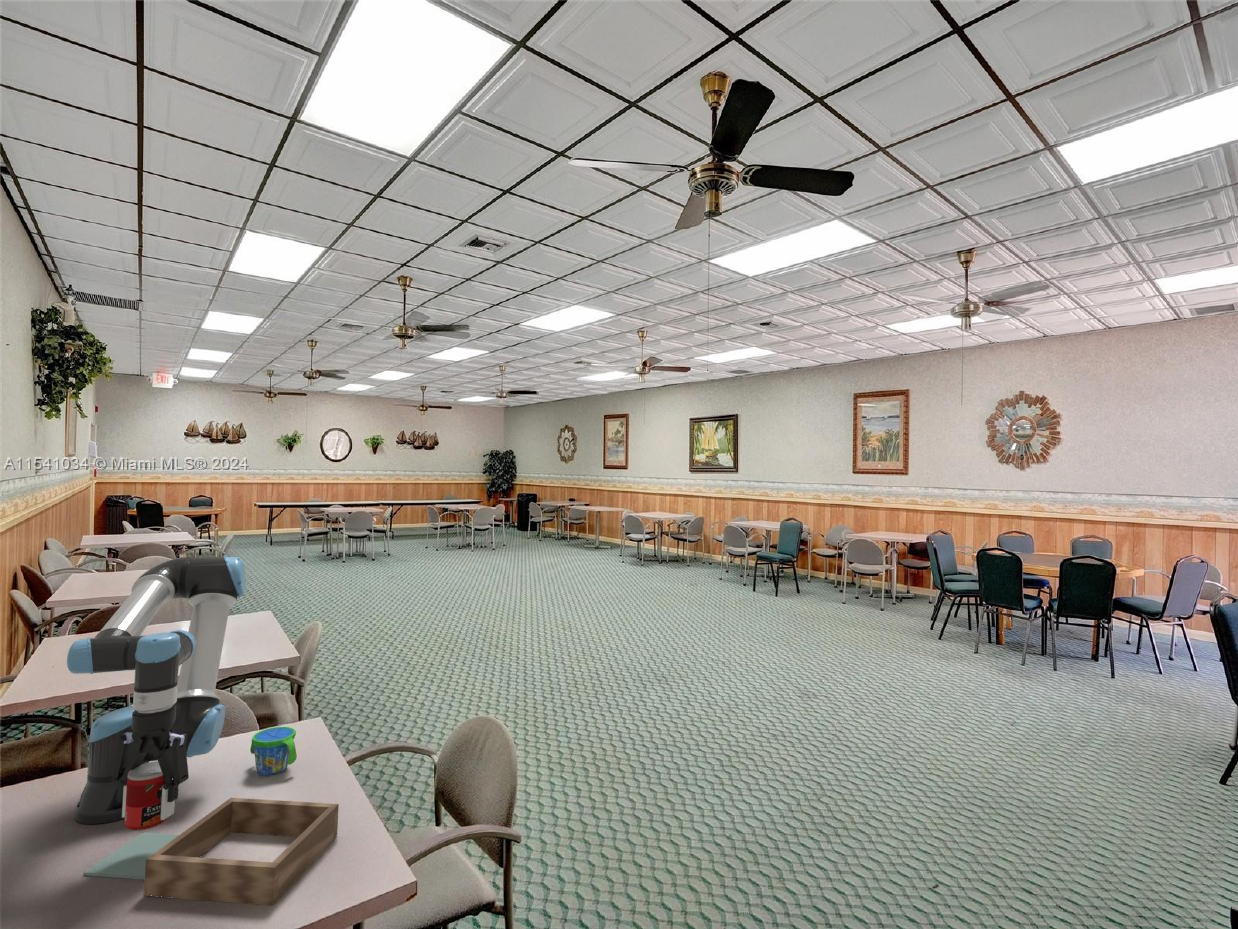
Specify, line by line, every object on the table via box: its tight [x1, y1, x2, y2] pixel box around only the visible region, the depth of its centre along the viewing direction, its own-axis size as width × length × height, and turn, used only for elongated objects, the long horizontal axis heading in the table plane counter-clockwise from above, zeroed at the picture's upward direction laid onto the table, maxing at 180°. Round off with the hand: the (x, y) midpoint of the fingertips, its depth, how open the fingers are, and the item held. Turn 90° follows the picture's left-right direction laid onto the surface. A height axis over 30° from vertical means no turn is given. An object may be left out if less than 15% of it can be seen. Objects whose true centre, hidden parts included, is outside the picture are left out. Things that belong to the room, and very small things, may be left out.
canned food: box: [124, 761, 169, 831], centre depth 126 cm, size 8×8×11 cm
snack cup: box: [250, 726, 297, 777], centre depth 165 cm, size 16×11×10 cm
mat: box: [83, 832, 180, 880], centre depth 126 cm, size 14×14×1 cm
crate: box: [143, 797, 339, 906], centre depth 125 cm, size 26×23×7 cm
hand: (148, 815), depth 126 cm, fingers closed on canned food, 8 cm apart
